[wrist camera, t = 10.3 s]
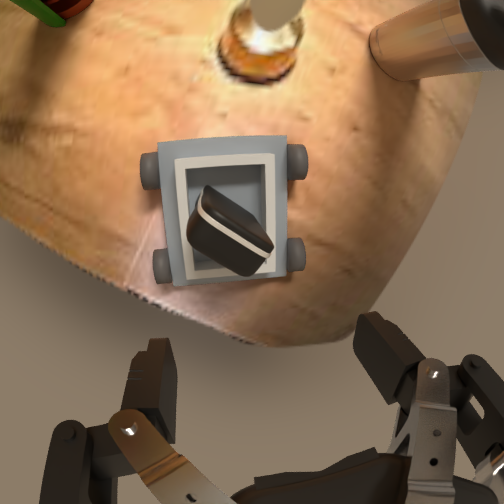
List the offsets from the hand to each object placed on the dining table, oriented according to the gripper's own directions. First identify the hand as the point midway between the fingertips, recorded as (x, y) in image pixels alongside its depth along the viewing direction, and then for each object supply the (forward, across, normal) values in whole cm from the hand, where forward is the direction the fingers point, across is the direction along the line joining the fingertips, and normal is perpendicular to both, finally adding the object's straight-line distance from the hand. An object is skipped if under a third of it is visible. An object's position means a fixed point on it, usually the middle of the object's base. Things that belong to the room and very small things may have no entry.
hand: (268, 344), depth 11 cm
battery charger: (+22, +1, 0) cm, 22 cm away
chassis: (+24, 0, 0) cm, 24 cm away
